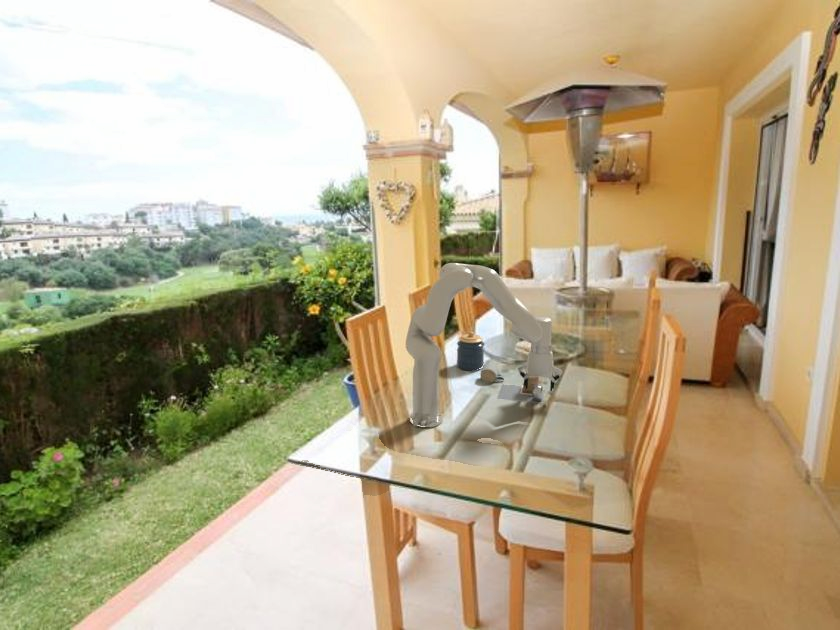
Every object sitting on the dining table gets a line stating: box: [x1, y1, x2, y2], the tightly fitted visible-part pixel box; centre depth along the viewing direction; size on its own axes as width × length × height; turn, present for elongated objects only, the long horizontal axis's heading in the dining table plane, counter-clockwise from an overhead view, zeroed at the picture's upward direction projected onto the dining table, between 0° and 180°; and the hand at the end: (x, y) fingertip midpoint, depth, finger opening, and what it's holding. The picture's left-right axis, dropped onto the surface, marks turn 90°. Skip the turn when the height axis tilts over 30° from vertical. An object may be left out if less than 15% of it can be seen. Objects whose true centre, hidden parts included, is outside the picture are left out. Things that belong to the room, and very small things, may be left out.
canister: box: [456, 331, 485, 372], centre depth 233 cm, size 13×13×18 cm
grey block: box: [532, 384, 544, 402], centre depth 195 cm, size 4×4×6 cm
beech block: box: [525, 369, 540, 384], centre depth 203 cm, size 5×5×6 cm
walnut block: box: [522, 378, 543, 394], centre depth 204 cm, size 7×7×4 cm
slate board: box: [496, 384, 545, 405], centre depth 203 cm, size 18×18×1 cm
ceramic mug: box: [480, 361, 503, 384], centre depth 216 cm, size 11×8×8 cm
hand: (538, 388), depth 195 cm, fingers open, 9 cm apart
